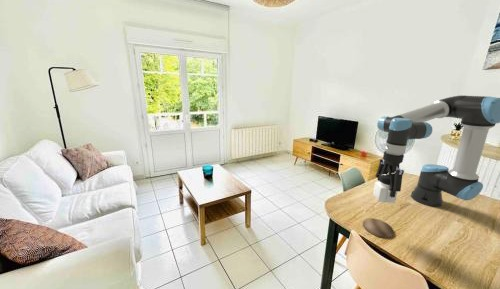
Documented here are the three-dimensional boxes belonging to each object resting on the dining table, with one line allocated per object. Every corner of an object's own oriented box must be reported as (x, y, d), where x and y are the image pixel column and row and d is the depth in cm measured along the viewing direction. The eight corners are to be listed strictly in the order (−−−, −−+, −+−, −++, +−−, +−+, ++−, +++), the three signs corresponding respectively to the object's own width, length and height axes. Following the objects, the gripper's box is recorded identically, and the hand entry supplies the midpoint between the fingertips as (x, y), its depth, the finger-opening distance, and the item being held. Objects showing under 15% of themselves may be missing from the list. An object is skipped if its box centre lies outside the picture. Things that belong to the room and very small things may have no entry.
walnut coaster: (382, 220, 110) (383, 218, 110) (399, 238, 98) (399, 236, 98) (358, 220, 111) (358, 218, 110) (371, 237, 98) (372, 235, 98)
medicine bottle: (395, 203, 96) (400, 180, 92) (378, 201, 97) (383, 178, 94) (388, 195, 102) (393, 173, 99) (372, 193, 104) (377, 172, 100)
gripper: (373, 145, 103) (365, 186, 109) (401, 160, 83) (389, 209, 90) (388, 146, 103) (379, 187, 109) (419, 161, 83) (406, 210, 90)
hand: (383, 197), depth 100 cm, fingers closed on medicine bottle, 8 cm apart
